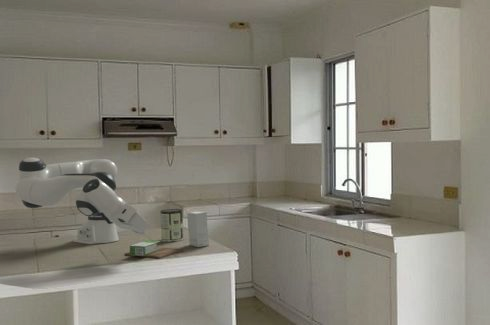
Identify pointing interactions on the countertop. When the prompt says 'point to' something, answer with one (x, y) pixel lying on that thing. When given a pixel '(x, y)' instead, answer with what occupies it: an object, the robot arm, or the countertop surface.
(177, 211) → the coffee can
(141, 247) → the ink box
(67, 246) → the countertop surface
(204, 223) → the skincare box
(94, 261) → the countertop surface
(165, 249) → the walnut board
